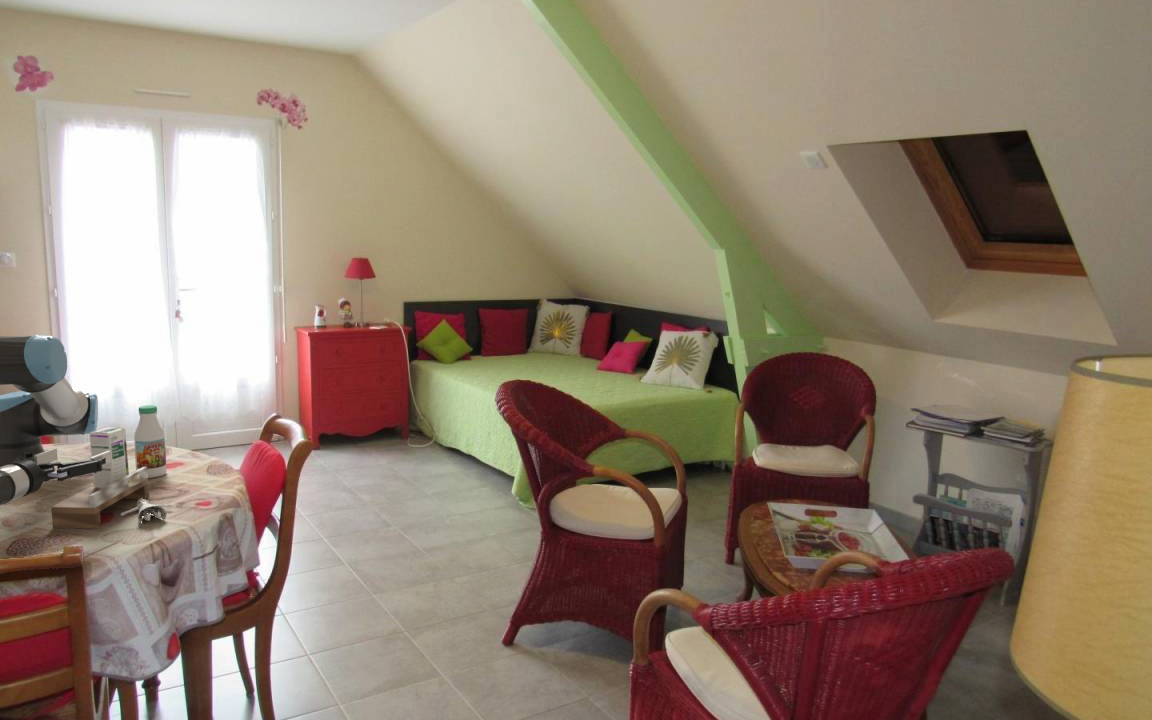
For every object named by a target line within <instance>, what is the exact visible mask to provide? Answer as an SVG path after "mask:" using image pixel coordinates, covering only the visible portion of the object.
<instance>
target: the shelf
mask: <svg viewBox="0 0 1152 720" xmlns="http://www.w3.org/2000/svg"><path fill="white" fill-rule="evenodd" d="M149 492H150V489H149V478H148V470H147V467H142V468H140V469H138V470H136V469H135V471H133V472H131V473H129V475H127V476H125V477H123V478H121V479H119V480H117V481H116V482H114V483H112V484H110V485H108V486H106V487H104V488H102V489H101V488H95V487H94V484H93V485H92V486H90V487H88V488H86V489H84V490H82V491H80V492H78V493H76V494H74V495H72V496H71V497H68V498H66V499H65V500H63V501H60V502H58V503H57V504H55V505H53V506H51V520H52V523H51V524H52V528H53V529H55V528H56V529H97V528H96V527H98V526H99V527H101V526H100V525H102V523H101V511H103V510H104V509H106V508H108V507H109V506H111V505H114V504H115V503H117V502H118V501H120V500H122V499H139V498H145V499H147V498H149V497H150V493H149ZM148 496H149V497H148ZM99 527H98V528H99Z"/></svg>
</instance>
